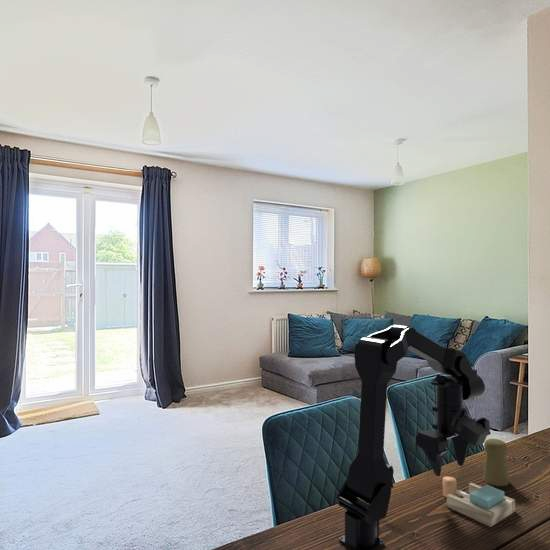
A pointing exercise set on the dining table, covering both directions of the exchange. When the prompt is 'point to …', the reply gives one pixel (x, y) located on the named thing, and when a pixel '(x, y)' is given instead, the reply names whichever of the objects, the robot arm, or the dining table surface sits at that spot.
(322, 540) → the dining table surface
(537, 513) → the dining table surface
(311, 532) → the dining table surface
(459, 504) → the lane
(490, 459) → the cork
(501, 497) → the lever with tan knob
